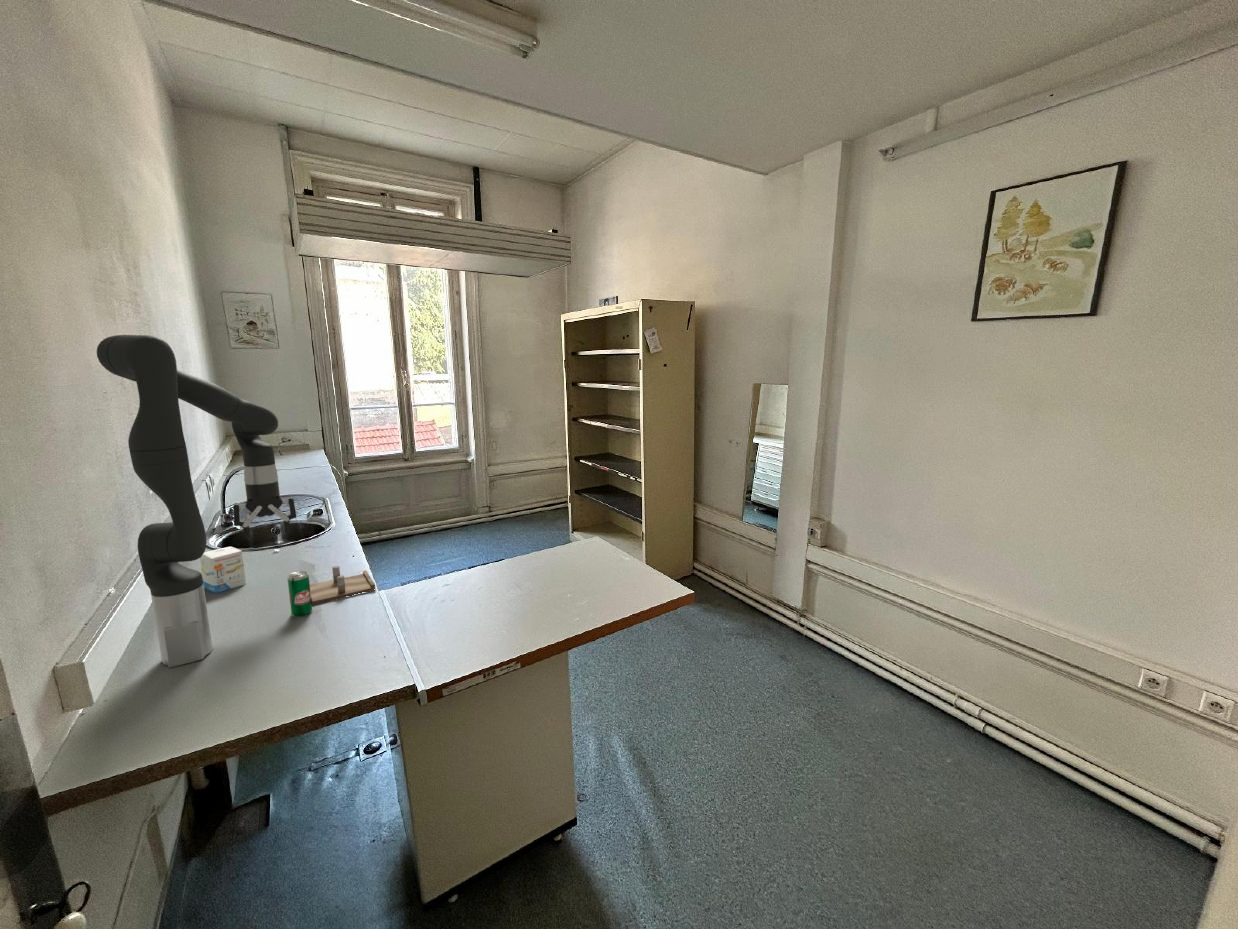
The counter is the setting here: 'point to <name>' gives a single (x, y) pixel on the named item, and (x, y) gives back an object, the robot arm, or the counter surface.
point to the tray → (332, 588)
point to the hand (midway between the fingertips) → (267, 536)
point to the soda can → (299, 593)
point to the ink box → (222, 569)
